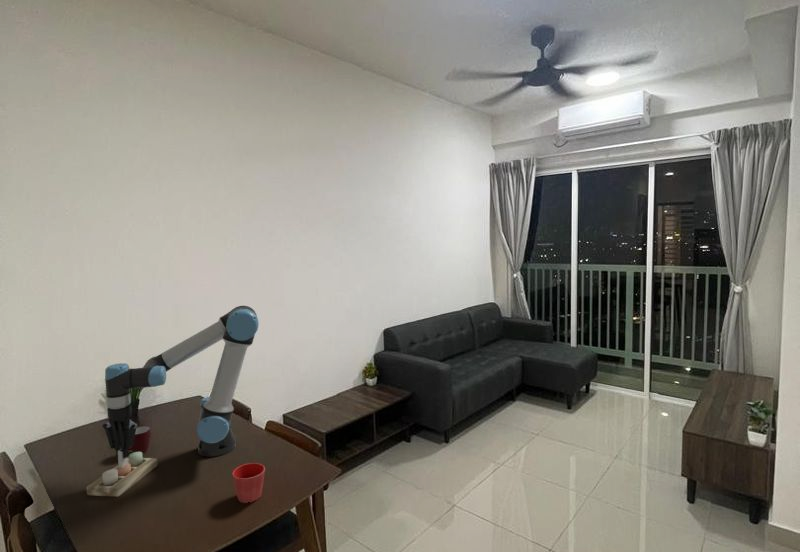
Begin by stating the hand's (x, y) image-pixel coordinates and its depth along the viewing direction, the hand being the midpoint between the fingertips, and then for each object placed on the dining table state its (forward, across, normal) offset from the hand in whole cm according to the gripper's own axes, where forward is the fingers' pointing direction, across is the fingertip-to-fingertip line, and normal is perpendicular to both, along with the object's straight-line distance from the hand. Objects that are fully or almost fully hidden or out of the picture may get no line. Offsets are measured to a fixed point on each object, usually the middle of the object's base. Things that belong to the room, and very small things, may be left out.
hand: (123, 465), depth 161 cm
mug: (+6, +9, -19) cm, 22 cm away
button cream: (+3, 0, +7) cm, 7 cm away
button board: (+6, 0, 0) cm, 6 cm away
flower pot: (+6, -53, +7) cm, 54 cm away
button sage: (+3, 0, -6) cm, 7 cm away
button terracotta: (+4, 0, 0) cm, 4 cm away
